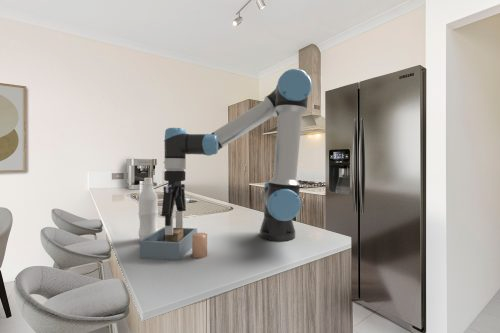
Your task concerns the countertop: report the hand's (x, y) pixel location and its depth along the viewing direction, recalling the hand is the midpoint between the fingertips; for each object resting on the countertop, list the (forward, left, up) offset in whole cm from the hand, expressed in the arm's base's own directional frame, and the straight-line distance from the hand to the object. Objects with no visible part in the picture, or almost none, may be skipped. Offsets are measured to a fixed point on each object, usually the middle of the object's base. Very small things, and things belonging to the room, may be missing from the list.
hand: (174, 231), depth 93 cm
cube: (+1, -1, -5) cm, 6 cm away
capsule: (-12, +7, -6) cm, 15 cm away
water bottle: (+13, -6, -6) cm, 16 cm away
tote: (0, +3, -6) cm, 7 cm away
